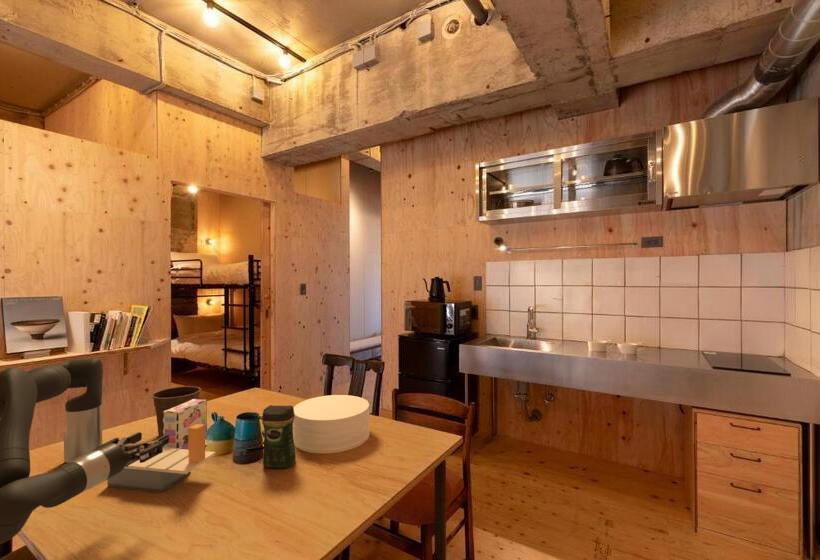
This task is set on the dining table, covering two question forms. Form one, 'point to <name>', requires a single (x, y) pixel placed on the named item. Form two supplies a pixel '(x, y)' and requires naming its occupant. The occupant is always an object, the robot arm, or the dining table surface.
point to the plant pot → (172, 401)
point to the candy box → (183, 422)
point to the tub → (144, 479)
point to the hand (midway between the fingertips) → (154, 437)
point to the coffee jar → (278, 436)
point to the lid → (179, 455)
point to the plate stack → (331, 423)
